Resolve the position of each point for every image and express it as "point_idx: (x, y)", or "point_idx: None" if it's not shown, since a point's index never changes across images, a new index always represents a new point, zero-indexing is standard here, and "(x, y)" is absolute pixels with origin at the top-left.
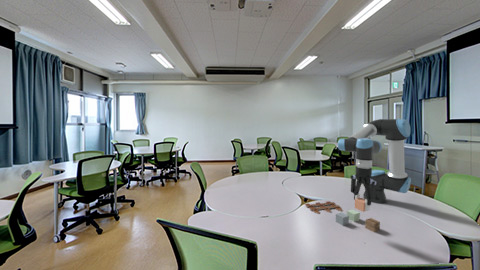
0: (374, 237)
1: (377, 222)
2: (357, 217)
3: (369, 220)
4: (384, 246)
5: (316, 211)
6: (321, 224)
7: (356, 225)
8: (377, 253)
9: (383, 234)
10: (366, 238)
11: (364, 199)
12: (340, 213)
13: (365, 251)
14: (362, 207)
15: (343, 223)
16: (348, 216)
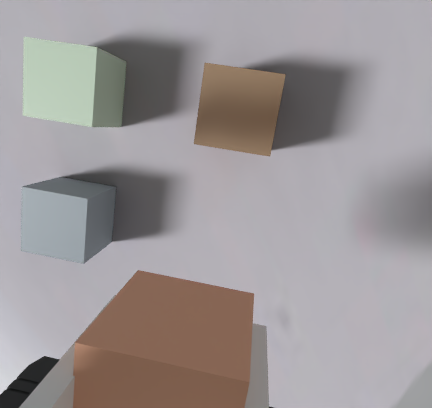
0: (296, 216)
1: (276, 106)
2: (112, 84)
3: (219, 130)
4: (372, 268)
5: None
6: (42, 330)
7: (156, 162)
8: (367, 361)
9: (320, 125)
10: (270, 267)
11: (155, 376)
12: (29, 211)
13: (320, 389)
14: None
15: (106, 239)
16: (88, 201)
